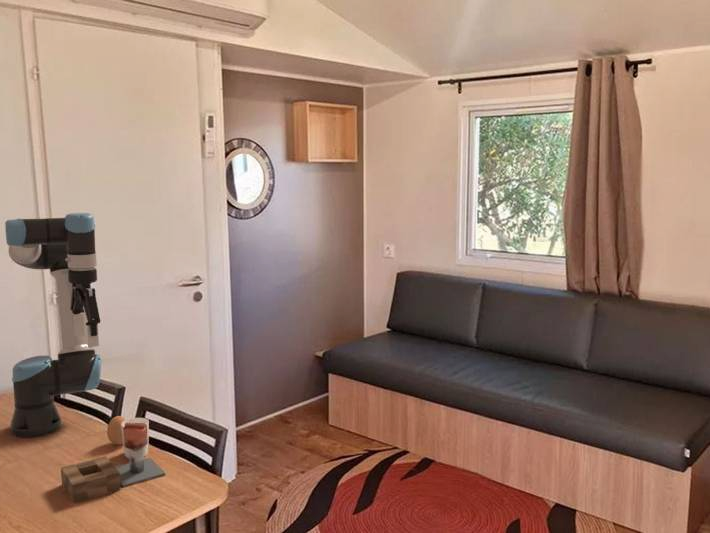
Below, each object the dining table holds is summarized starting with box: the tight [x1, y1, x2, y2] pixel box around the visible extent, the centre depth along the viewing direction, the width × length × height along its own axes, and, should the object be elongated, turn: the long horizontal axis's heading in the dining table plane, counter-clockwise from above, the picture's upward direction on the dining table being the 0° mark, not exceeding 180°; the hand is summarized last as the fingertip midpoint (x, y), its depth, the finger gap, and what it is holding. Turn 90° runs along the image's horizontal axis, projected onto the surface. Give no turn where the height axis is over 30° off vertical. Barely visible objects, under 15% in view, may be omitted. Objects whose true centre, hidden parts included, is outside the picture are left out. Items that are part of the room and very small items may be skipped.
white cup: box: [121, 417, 150, 459], centre depth 200 cm, size 8×8×10 cm
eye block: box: [60, 455, 121, 504], centre depth 180 cm, size 12×12×5 cm
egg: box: [106, 415, 126, 446], centre depth 206 cm, size 7×7×9 cm
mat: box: [115, 457, 166, 488], centre depth 189 cm, size 12×12×1 cm
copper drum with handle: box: [123, 423, 149, 474], centre depth 188 cm, size 6×6×14 cm
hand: (86, 341), depth 191 cm, fingers open, 13 cm apart
